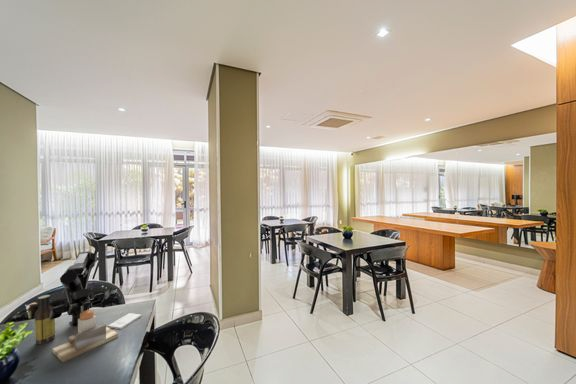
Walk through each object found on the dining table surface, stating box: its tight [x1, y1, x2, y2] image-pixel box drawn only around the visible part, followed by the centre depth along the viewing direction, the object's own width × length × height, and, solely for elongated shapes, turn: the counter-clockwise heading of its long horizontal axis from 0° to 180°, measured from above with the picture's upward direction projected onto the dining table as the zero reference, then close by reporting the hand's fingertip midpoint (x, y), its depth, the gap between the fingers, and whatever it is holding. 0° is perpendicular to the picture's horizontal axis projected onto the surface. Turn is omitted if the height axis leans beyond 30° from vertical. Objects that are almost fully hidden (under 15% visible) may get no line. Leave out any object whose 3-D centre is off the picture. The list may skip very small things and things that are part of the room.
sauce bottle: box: [34, 294, 56, 345], centre depth 105 cm, size 6×6×20 cm
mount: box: [52, 323, 119, 363], centre depth 103 cm, size 12×19×8 cm, turn 149°
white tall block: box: [77, 309, 97, 334], centre depth 103 cm, size 5×5×12 cm
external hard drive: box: [106, 312, 143, 330], centre depth 121 cm, size 2×8×12 cm
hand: (84, 322), depth 104 cm, fingers closed, pressing on white tall block
